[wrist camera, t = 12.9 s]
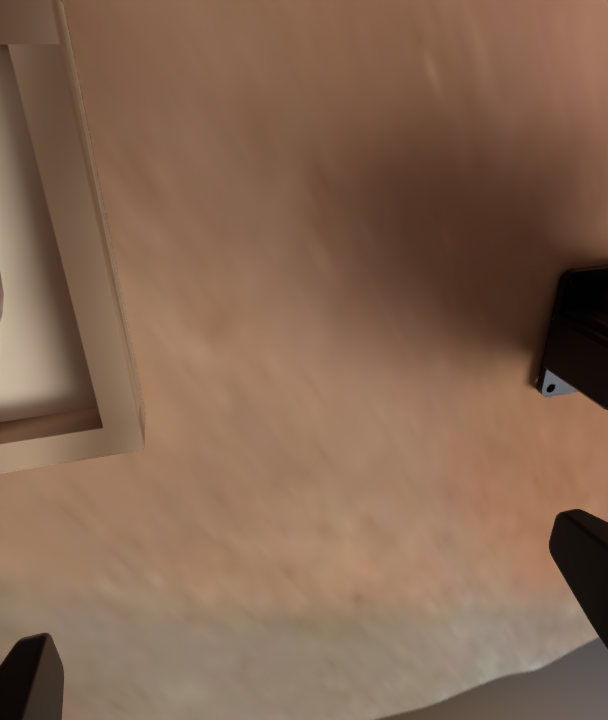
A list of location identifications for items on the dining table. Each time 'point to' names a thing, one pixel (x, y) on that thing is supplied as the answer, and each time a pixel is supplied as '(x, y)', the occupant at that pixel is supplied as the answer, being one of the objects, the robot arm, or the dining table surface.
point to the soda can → (1, 297)
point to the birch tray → (56, 262)
